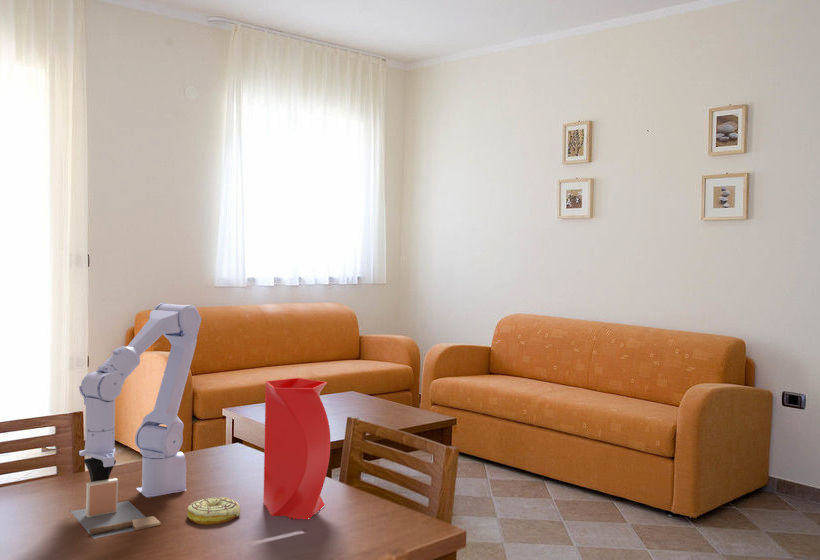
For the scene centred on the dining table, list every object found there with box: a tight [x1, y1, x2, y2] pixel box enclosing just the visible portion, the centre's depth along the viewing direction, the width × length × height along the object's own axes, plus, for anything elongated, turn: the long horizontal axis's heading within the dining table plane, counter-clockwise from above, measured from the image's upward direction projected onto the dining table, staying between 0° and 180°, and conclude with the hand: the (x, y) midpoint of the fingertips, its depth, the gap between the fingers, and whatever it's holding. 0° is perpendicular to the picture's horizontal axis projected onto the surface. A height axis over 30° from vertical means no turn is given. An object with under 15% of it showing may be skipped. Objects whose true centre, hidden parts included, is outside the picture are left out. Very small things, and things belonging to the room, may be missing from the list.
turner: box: [88, 515, 161, 536], centre depth 148 cm, size 13×4×1 cm, turn 128°
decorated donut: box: [186, 496, 241, 526], centre depth 156 cm, size 10×11×4 cm
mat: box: [70, 500, 155, 540], centre depth 153 cm, size 12×18×1 cm, turn 38°
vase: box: [262, 377, 331, 520], centre depth 162 cm, size 15×14×28 cm
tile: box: [85, 477, 119, 517], centre depth 155 cm, size 6×2×7 cm, turn 127°
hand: (99, 492), depth 157 cm, fingers closed
